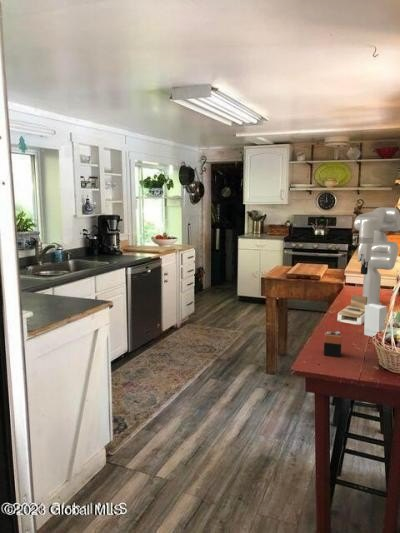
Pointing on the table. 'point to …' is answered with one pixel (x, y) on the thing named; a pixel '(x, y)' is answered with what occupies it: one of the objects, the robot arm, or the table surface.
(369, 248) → the robot arm
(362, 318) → the box
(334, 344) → the battery
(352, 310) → the lid
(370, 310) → the skincare box
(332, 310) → the table surface
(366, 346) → the table surface
